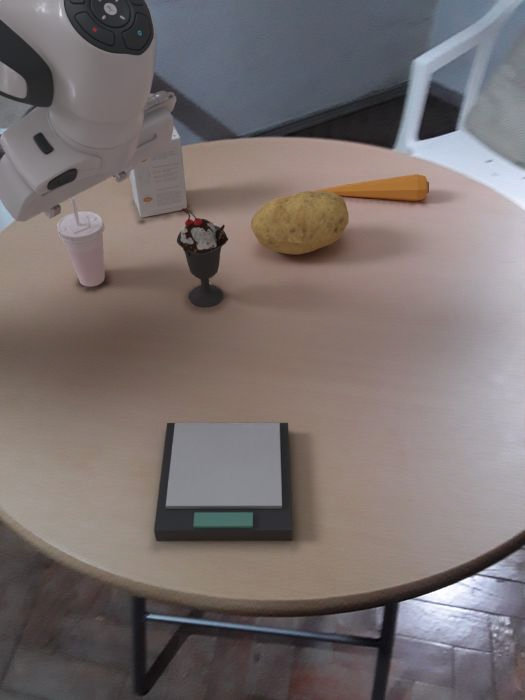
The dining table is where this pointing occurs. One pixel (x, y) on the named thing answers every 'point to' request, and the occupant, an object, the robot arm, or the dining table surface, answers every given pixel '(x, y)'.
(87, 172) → the robot arm
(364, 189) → the carrot
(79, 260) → the smoothie
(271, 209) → the potato
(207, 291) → the sundae
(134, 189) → the small box
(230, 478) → the scale
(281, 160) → the dining table surface
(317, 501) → the dining table surface
